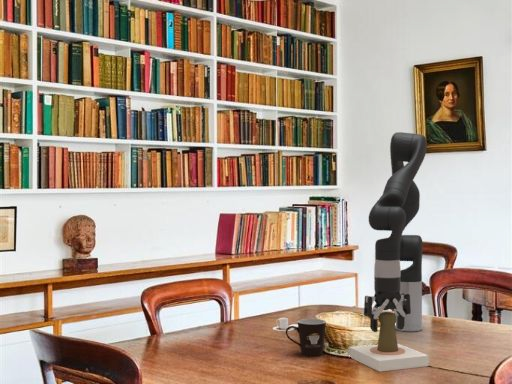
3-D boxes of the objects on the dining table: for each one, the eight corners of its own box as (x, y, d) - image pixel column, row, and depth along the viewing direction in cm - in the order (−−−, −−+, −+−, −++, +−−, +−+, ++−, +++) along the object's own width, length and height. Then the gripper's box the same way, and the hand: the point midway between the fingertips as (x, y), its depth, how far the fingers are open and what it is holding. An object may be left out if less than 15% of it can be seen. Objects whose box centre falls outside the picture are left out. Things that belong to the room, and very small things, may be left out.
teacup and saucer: (301, 329, 260) (301, 317, 260) (290, 333, 254) (290, 321, 254) (279, 326, 265) (279, 315, 265) (268, 330, 258) (268, 319, 258)
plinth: (348, 356, 219) (348, 345, 219) (394, 351, 225) (394, 341, 225) (379, 371, 202) (379, 359, 202) (428, 366, 208) (428, 354, 208)
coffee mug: (328, 351, 225) (328, 319, 225) (322, 358, 217) (322, 325, 217) (292, 349, 229) (292, 317, 229) (284, 355, 221) (284, 322, 221)
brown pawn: (398, 352, 210) (398, 314, 210) (377, 352, 211) (376, 314, 211) (398, 347, 216) (398, 310, 216) (377, 347, 217) (377, 310, 217)
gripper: (401, 272, 219) (401, 326, 219) (359, 274, 214) (359, 329, 214) (415, 275, 212) (415, 330, 212) (372, 277, 207) (372, 334, 207)
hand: (387, 330), depth 213 cm, fingers open, 8 cm apart
